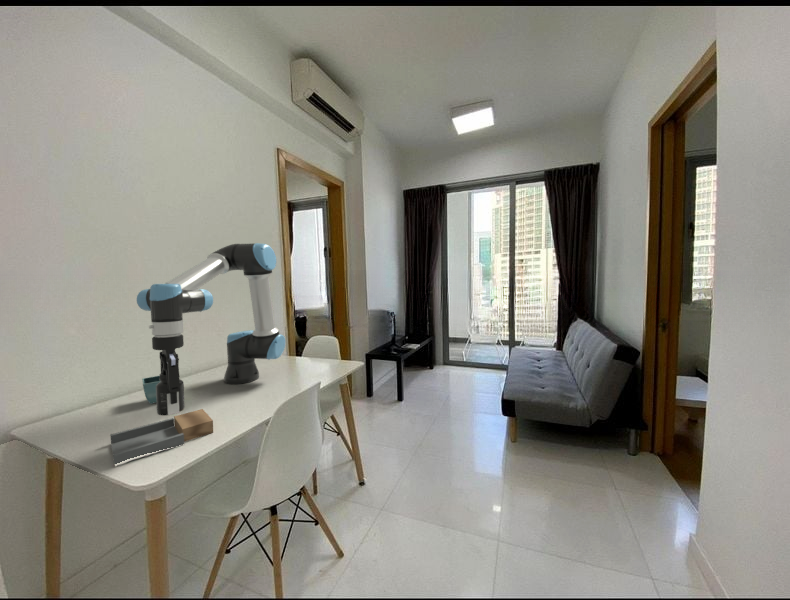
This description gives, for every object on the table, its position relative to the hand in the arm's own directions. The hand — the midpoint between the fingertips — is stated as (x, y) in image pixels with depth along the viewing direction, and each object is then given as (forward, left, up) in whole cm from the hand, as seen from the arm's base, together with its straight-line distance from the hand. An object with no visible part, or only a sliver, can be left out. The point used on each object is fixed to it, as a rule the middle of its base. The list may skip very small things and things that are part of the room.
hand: (171, 409), depth 92 cm
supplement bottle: (0, 0, -1) cm, 1 cm away
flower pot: (-2, -38, -9) cm, 39 cm away
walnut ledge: (-6, 0, -9) cm, 10 cm away
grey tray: (+6, 0, -9) cm, 10 cm away
